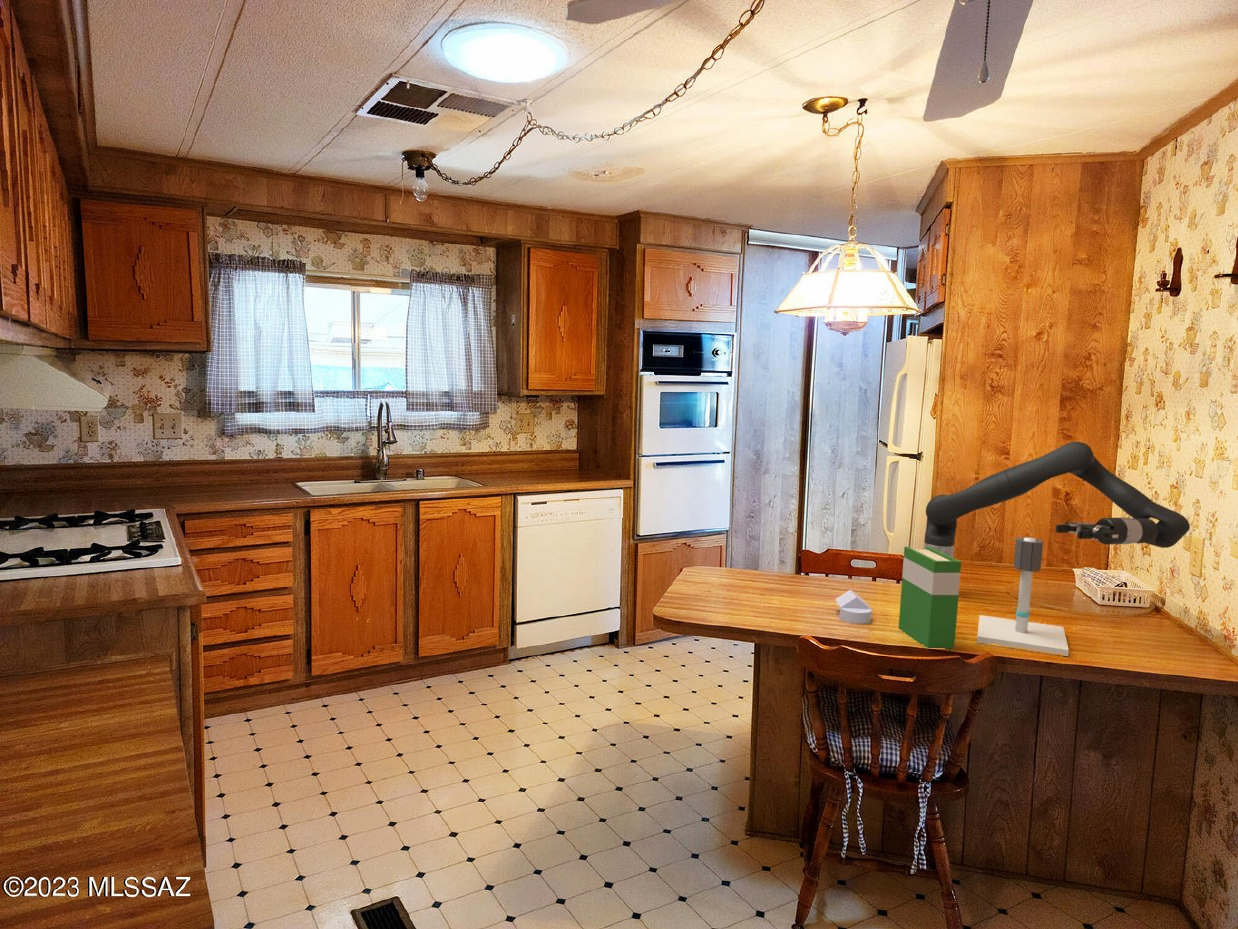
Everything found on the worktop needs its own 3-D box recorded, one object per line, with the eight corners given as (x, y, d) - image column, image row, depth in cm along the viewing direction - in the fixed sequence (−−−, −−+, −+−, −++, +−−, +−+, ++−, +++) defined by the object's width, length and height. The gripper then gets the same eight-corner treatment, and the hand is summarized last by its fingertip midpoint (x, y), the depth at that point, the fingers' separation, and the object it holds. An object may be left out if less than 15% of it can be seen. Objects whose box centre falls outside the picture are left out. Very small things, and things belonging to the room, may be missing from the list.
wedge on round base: (834, 610, 250) (842, 623, 238) (835, 588, 250) (844, 600, 237) (864, 611, 250) (874, 624, 237) (865, 590, 249) (875, 602, 236)
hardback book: (898, 628, 234) (904, 546, 231) (923, 628, 235) (929, 546, 232) (927, 649, 217) (934, 561, 214) (954, 649, 218) (961, 561, 215)
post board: (976, 643, 223) (985, 541, 220) (978, 621, 243) (986, 527, 239) (1067, 657, 214) (1078, 551, 210) (1062, 633, 234) (1072, 536, 230)
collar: (1013, 569, 224) (1016, 541, 223) (1013, 564, 230) (1016, 536, 229) (1041, 572, 222) (1043, 544, 221) (1040, 567, 228) (1042, 539, 227)
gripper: (1100, 513, 236) (1050, 513, 233) (1140, 522, 222) (1087, 523, 219) (1098, 538, 237) (1048, 539, 234) (1137, 549, 223) (1084, 550, 220)
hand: (1067, 531), depth 227 cm, fingers open, 8 cm apart
